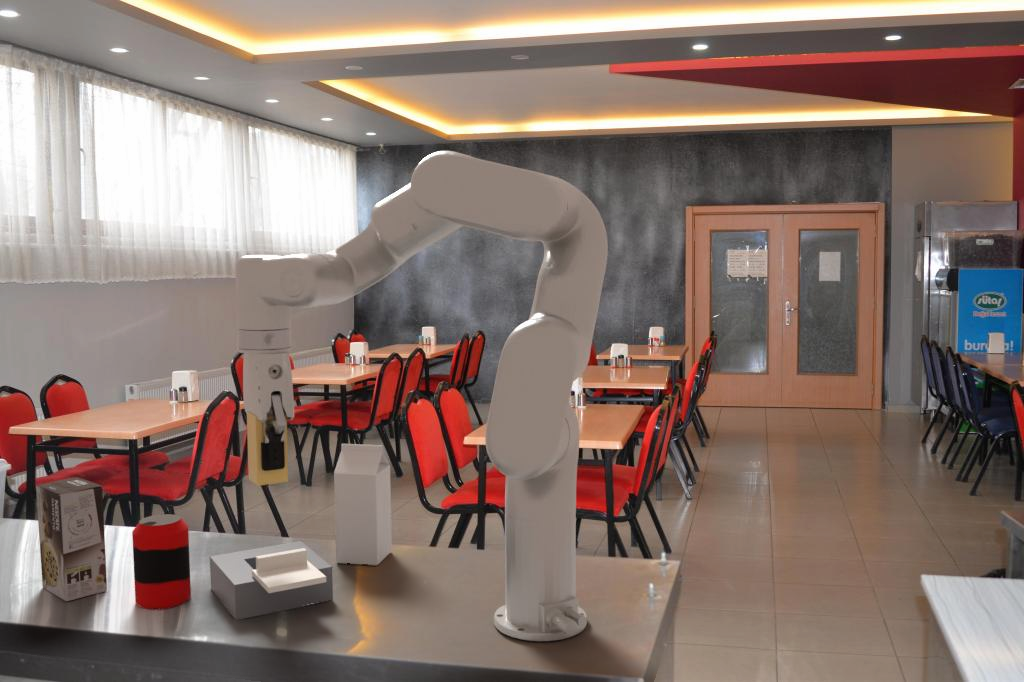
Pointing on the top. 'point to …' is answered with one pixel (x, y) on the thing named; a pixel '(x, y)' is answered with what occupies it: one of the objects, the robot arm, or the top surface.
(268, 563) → the plate
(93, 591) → the coffee box
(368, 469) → the milk carton
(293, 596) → the socket housing
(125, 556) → the top surface
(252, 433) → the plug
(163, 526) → the soda can
